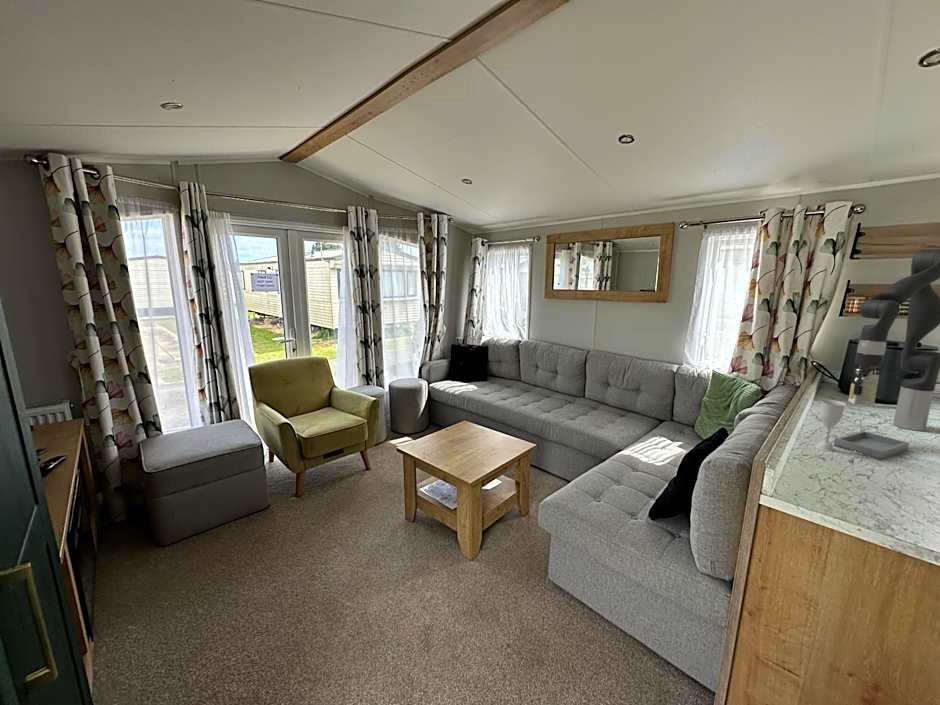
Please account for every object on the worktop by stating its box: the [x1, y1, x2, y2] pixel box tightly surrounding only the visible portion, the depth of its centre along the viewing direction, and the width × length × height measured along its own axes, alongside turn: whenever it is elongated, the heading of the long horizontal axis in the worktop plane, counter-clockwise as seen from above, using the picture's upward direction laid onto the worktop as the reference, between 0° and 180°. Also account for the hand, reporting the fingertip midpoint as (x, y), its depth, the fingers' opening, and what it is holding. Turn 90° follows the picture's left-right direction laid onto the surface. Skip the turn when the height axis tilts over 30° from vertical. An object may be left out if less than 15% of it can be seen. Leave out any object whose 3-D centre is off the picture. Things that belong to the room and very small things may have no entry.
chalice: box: [815, 398, 847, 452], centre depth 142 cm, size 7×7×18 cm
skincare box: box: [848, 374, 880, 406], centre depth 150 cm, size 6×4×12 cm
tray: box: [833, 430, 910, 461], centre depth 144 cm, size 20×13×3 cm, turn 113°
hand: (862, 393), depth 151 cm, fingers closed on skincare box, 7 cm apart
